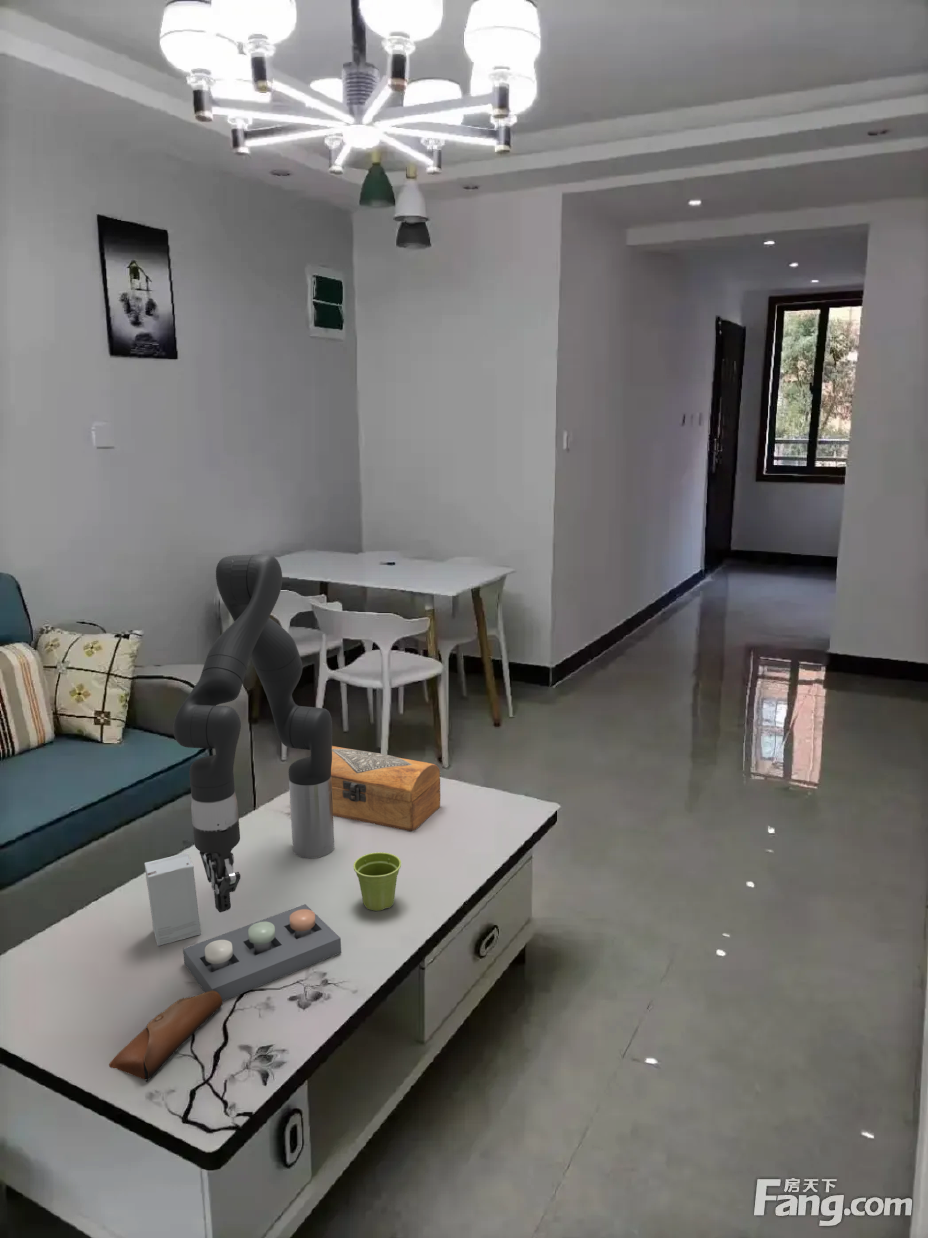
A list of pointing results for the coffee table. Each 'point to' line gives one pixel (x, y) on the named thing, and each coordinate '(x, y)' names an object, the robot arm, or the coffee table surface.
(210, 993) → the sunglasses case
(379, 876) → the plant pot
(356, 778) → the wooden box
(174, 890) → the skincare box
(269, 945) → the sage button
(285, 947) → the console
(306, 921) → the terracotta button
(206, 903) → the coffee table surface
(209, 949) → the ivory button
